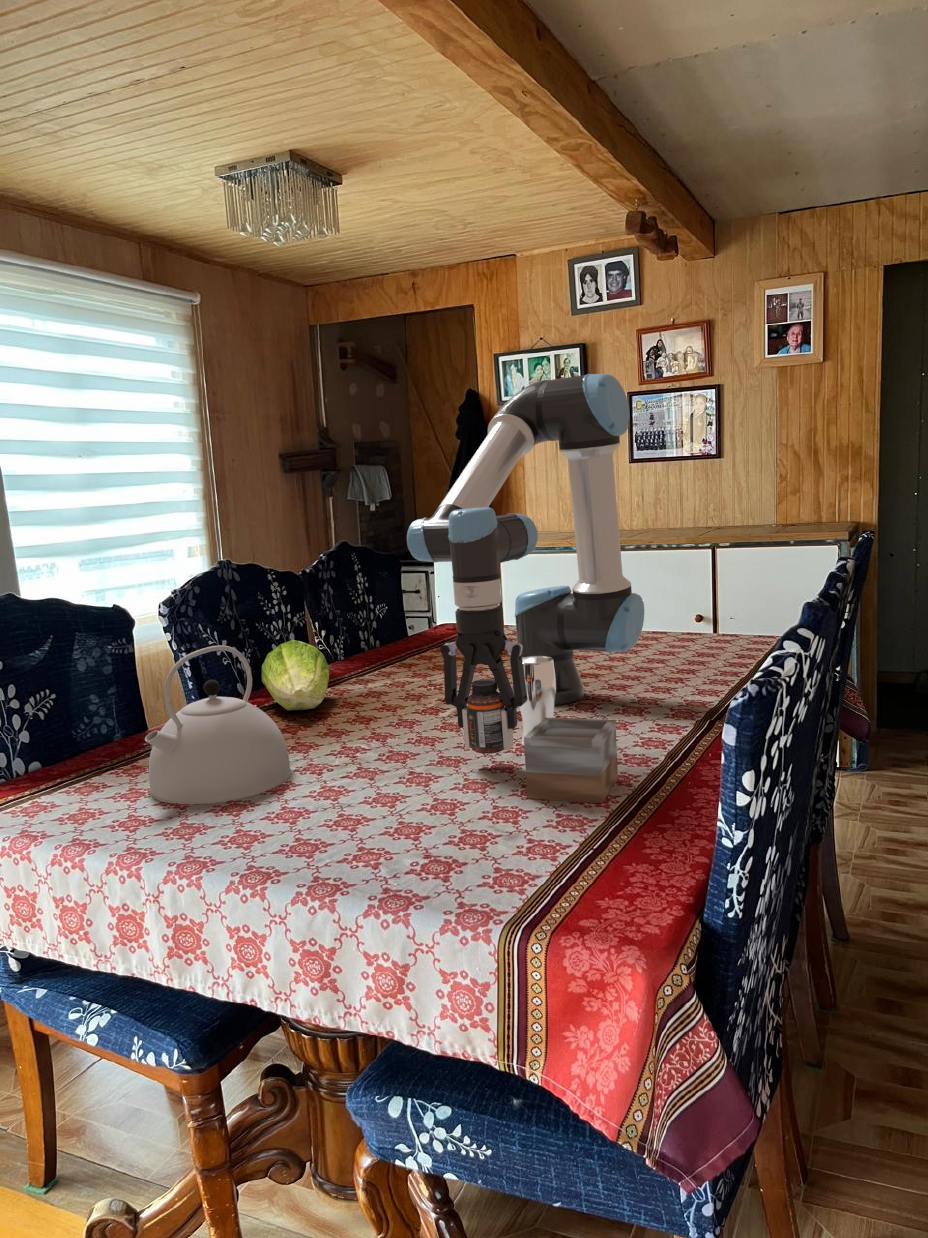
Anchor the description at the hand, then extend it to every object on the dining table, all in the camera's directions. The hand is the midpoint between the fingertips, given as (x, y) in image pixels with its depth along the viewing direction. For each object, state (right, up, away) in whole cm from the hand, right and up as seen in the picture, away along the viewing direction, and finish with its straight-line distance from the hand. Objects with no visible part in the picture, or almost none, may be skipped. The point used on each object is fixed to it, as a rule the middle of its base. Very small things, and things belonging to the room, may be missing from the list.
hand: (489, 746), depth 151 cm
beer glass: (+9, -1, +12) cm, 15 cm away
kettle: (-45, -7, +2) cm, 45 cm away
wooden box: (+12, -5, -12) cm, 18 cm away
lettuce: (-40, +1, +50) cm, 64 cm away
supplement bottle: (0, -1, 0) cm, 1 cm away
